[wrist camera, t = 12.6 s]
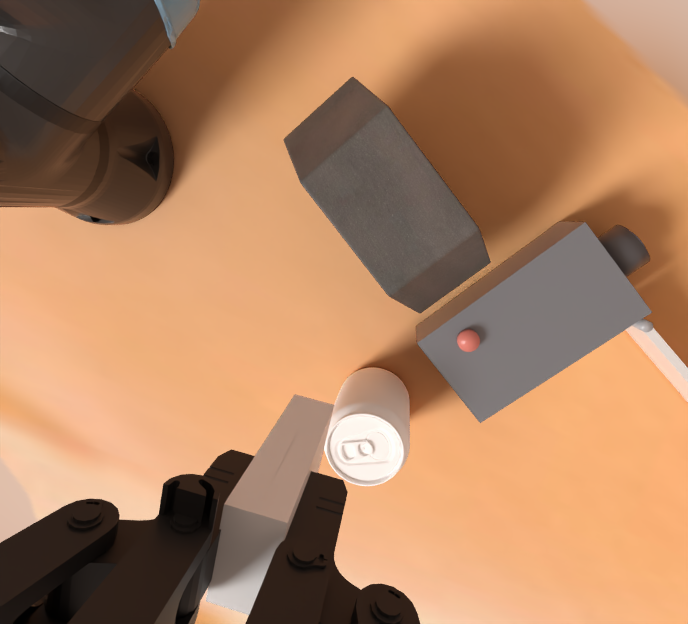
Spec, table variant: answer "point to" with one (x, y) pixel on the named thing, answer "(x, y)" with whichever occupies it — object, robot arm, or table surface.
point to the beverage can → (369, 428)
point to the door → (661, 355)
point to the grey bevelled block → (385, 198)
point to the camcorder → (535, 314)
